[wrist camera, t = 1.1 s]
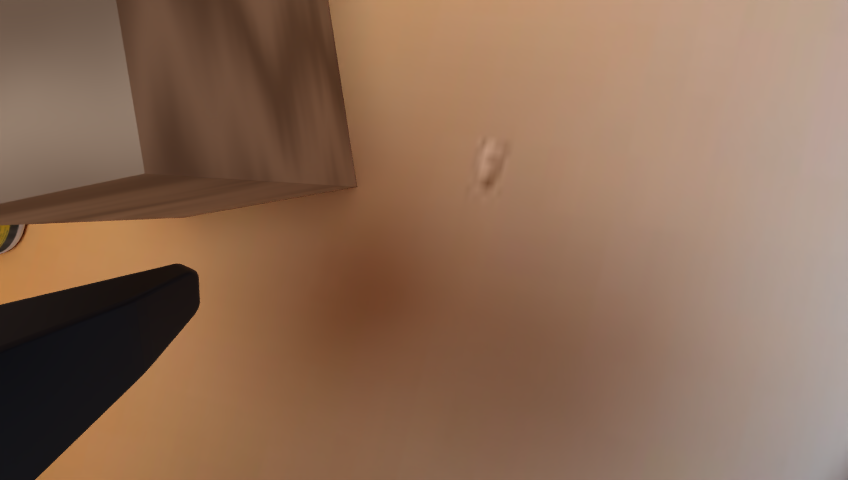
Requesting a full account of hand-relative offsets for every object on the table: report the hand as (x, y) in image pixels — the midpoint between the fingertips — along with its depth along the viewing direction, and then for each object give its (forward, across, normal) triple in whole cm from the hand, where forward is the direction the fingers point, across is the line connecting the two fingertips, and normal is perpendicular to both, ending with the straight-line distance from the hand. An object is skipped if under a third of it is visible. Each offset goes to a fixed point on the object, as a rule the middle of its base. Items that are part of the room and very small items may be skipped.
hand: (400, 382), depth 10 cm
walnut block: (+14, +14, +3) cm, 21 cm away
